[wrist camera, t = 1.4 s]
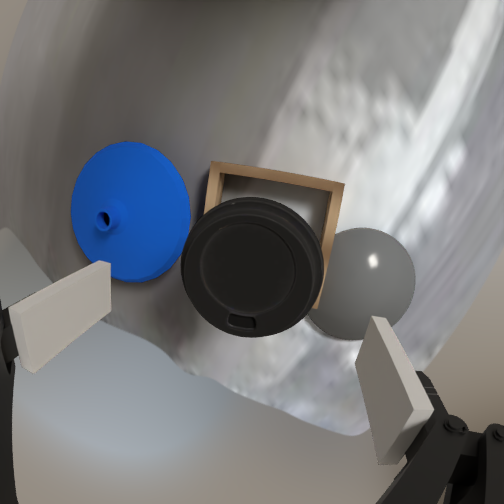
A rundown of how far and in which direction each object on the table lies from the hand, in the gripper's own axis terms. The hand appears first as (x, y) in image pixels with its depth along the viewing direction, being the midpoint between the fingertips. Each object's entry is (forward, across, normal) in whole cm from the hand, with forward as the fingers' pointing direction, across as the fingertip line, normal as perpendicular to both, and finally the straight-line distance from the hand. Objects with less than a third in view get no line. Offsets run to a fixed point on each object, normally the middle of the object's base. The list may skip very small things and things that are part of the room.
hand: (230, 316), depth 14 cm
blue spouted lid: (+20, -16, 0) cm, 25 cm away
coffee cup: (+20, 0, 0) cm, 20 cm away
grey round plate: (+19, +11, -4) cm, 23 cm away
